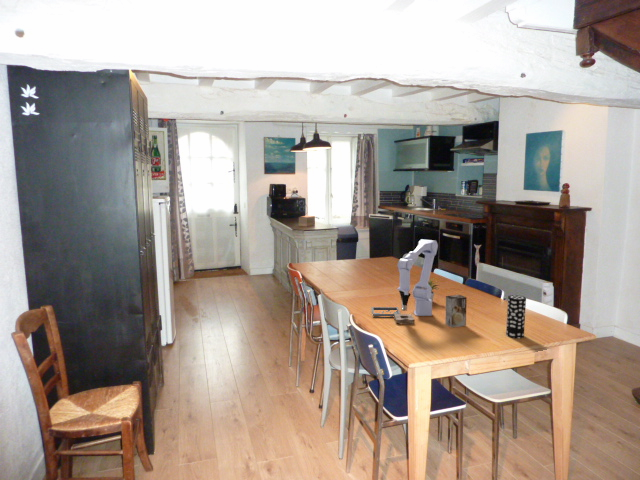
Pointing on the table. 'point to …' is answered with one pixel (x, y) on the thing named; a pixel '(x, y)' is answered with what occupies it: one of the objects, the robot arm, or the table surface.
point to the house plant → (432, 288)
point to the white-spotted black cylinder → (516, 316)
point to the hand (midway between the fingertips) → (404, 304)
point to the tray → (386, 311)
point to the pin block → (404, 318)
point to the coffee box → (456, 310)
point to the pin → (404, 307)
